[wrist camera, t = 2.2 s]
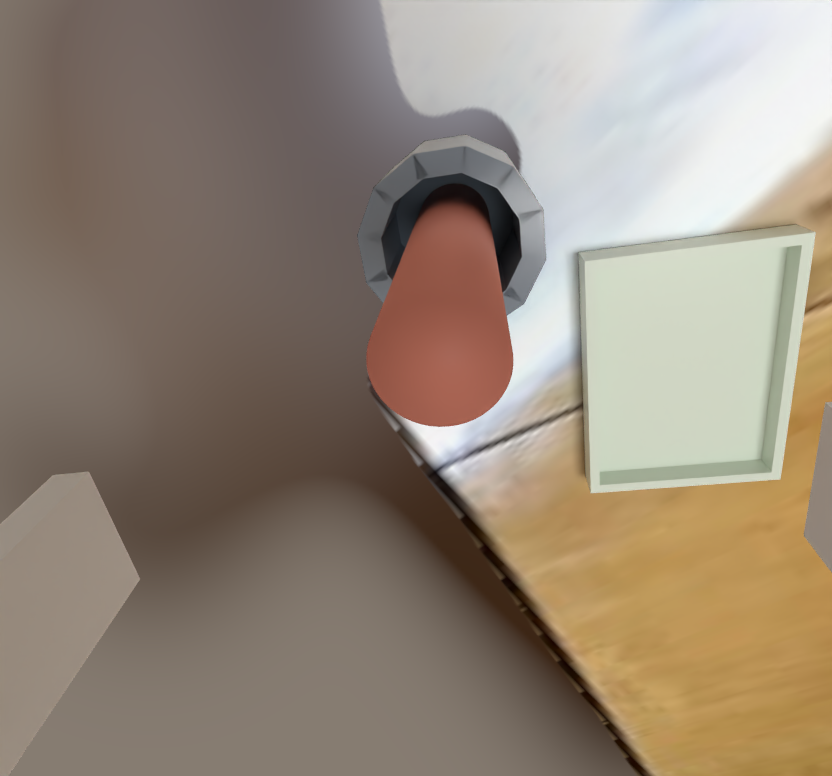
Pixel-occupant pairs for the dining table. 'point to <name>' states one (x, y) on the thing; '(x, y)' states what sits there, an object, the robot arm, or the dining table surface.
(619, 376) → the tray
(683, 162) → the dining table surface
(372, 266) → the crock
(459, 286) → the dowel
